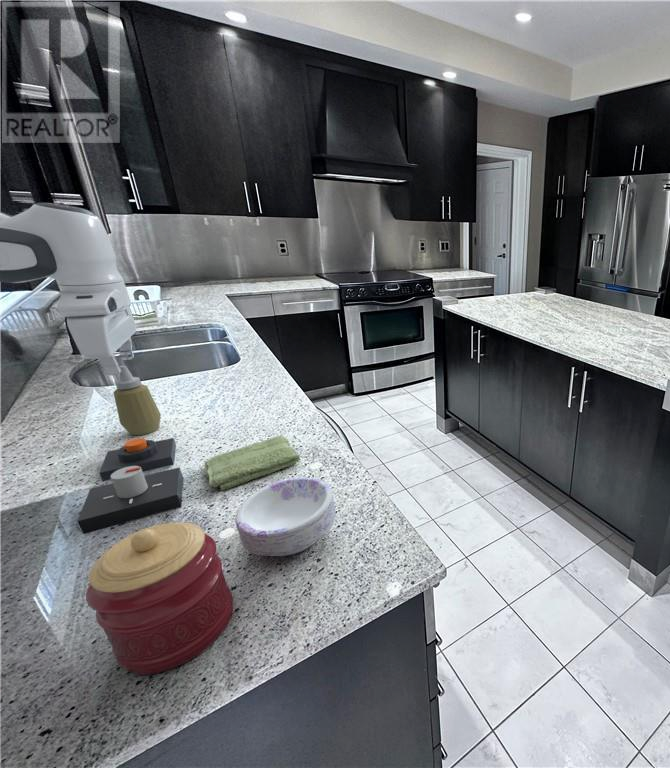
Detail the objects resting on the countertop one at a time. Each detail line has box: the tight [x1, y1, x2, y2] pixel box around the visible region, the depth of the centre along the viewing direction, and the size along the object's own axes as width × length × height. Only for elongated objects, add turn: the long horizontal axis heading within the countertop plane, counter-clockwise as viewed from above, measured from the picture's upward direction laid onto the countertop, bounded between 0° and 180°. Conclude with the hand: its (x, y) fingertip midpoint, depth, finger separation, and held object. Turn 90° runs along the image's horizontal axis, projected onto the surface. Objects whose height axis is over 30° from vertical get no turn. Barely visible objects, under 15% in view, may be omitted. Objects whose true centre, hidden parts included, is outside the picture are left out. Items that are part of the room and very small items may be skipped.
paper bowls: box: [234, 476, 337, 557], centre depth 72 cm, size 15×15×8 cm
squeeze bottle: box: [113, 365, 162, 436], centre depth 103 cm, size 8×8×18 cm
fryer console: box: [76, 467, 184, 535], centre depth 80 cm, size 14×11×3 cm
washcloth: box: [203, 435, 301, 491], centre depth 93 cm, size 13×18×3 cm
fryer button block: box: [99, 437, 177, 482], centre depth 93 cm, size 12×10×4 cm
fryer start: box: [123, 437, 147, 452], centre depth 92 cm, size 4×4×2 cm
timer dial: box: [110, 466, 148, 498], centre depth 78 cm, size 4×4×5 cm
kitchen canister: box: [85, 522, 234, 675], centre depth 54 cm, size 13×13×18 cm
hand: (122, 366), depth 82 cm, fingers open, 8 cm apart
